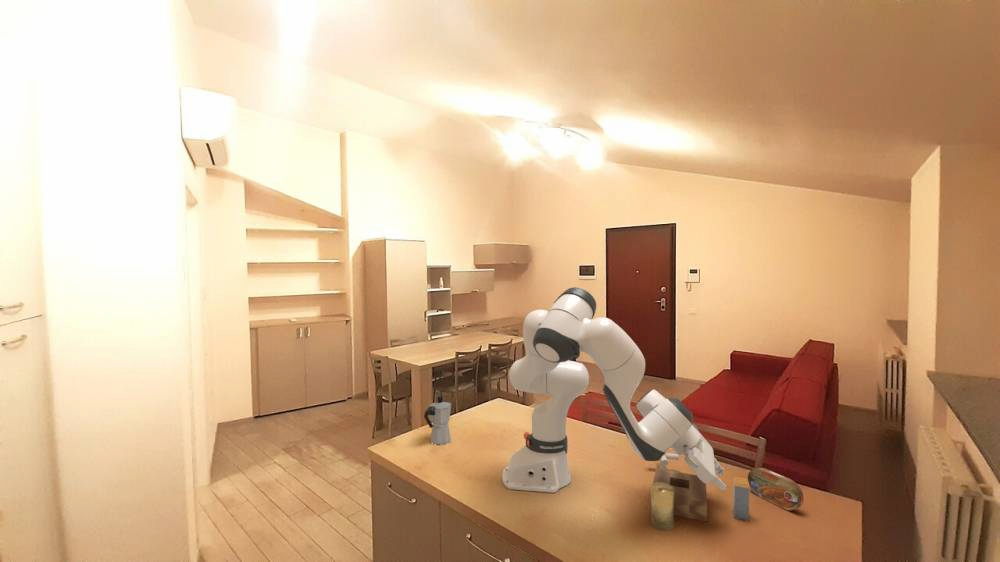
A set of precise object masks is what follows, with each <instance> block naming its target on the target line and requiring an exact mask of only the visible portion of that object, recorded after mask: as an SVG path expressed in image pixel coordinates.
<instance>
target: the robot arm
mask: <svg viewBox="0 0 1000 562" xmlns="http://www.w3.org/2000/svg"><path fill="white" fill-rule="evenodd" d="M596 311H597V301H596V299H595V298H594V296H593V294H591V293H590V292H589V291H587V290H586V289H583V288H580V287H575V286H574V287H570V288H567V289H566V290H564V291H563V292H562V293H561V294H560V295H559V296H558V297H557V299H555V300H554V302H553V304H552V306H551V307H550V308H549V310H546V309H535V310H533V311H531V312H529V313H528V314H526V316H525V318H524V319H523V320H524V321H523V326H522V337H523V338H522V339H523V344H524V349H525V355H524V357H521V358H520V359H518V360H515V361H514V362H513V364H512V365H511V366H510V369H509V374H508V375H509V377H508V378H509V381H510V384H511V386H512V387H513V389H514V390H515V391H516V390H517V391H520V392H524V393H527V394H528V393H529V394H544V395H550V399H548V400H547V401H544V402H542V403H540V404H538V405H537V406H535V407H534V408H533V410H532V413H531V433H530V432H528V431H526V432H525V431H524V433H523V439H524V440H525V445H524V446H522V447H521V448H520V449H519V450H517V451H515V452H514V453H512V455H511V457H510V461H509V465H508V466H505V468H503V470H502V475H501V480H502V484H503V486H505V488H506V489H508V490H518V491H519V490H520V491H529V492H540V493H557V492H558V491H559V490H560V489H561V488H564V487H566V486H568V485H569V484H570V483H571V482H572V477H571V473H570V469H569V463H568V455H567V454H568V449H569V448H568V446H569V445H568V444H569V442H568V436H567V417H568V412H569V409H570V406H571V405H572V403H573V401H574V400H575V399H576V398H577V397H579V396H580V395H582V394H583V393H584V392H585V391H586V389H588V388H587V387H588V386H589V384H590V383H589V382H590V375H589V372H588V368H587V367H586V366H585V364H583V363H582V362H578V361H575V360H577V359H578V358H579V357H580V356H581V352H582V353H584V354H587V356H589V357H590V358H591V359H592V360H593V362H594V363H595V365H596V366H597V367H598V368H599V369H600V370H601V372H602V375H603V380H604V385H603V387H602V391H603V395H604V397H605V399H606V401H607V403H608V405H609V407H610V409H611V411H612V412H613V414H614V417H616V419H617V421H618V423H619V424H620V426H621V428H622V430H623V431H624V433H625V436H626V438H627V440H628V442H629V445H630V447H631V448H632V450H633V451H634V452H635V453H636V454H637V456H638V457H639V458H640V459H642V460H644V461H645V462H660V458H661V457H662V456H663V455H664V454H665V453H667V451H668V450H669V449H672V450H673V451H674V452H675V454H678V455H679V456H681V455H684V461H685V463H686V464H687V466H688V467H689V468H690V470H691V471H692V472H693V473H694V475H697V477H698V478H699V479H700V480H701V481H702V482H703V483H705V484H706V485H708V484H709V483H711V484H713V485H715V486H716V487H717V488H718V489H719V490H720V491H721V492H722V491H724V490H726V489H727V484H726V483H725V482H724V481H723V480H722V479H720V478H719V477H718V475H719V476H722V475H724V474H725V468H723V466H721V464H720V463H719V461H718V460H717V459H716V457H715V455H714V453H715V452H714V448H713V447H712V445H711V444H710V443H709V442H708V441H707V440H706V438H705V437H704V436H703V435H702V434H701V432H700V431H699V428H698V427H697V425H695V424H694V416H693V412H692V411H691V410H689V408H687V406H685V404H684V403H683V402H682V401H681V400H680V399H679V398H678V397H667V398H666V397H665V396H664V395H662V394H661V393H660V392H659V391H657V390H656V389H651V390H649V391H647V392H646V393H645V394H644V395H643V396H642V397H641V398H640V399H639V400H637V402H636V405H635V406H636V408H637V410H638V411H639V413H640V414H641V415H642V417H643V418H642V419H641V420H640V421H638V420H637V418H636V417H635V415H634V413H633V412H632V410H631V401H632V399H633V396H634V394H635V391H636V390H637V388H638V386H639V385H640V383H641V381H642V380H643V377H644V374H645V372H646V358H645V357H644V355H643V353H642V351H641V349H640V348H639V346H638V345H637V343H635V342H634V340H633V339H632V338H631V336H629V334H627V332H626V331H625V330H624V329H623V328H622V327H620V326H619V324H617V323H615V321H613V320H612V319H610V318H608V317H605V316H604V317H603V316H599V317H596V318H594V316H595V314H596ZM593 318H594V319H593ZM716 473H717V474H718V475H717V474H716Z"/></svg>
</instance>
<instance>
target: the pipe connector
mask: <svg viewBox="0 0 1000 562" xmlns="http://www.w3.org/2000/svg"><path fill="white" fill-rule="evenodd" d="M679 456H680V455H678V454H677V453H670V452H668V453H667V452H666V453H665V454H664V455H663V456H662V457H661V458H660V460H659V469H664V470H666V466H668V465H669V461H668V460H674V461H675V460H676V461H678V460H680V457H679Z"/></svg>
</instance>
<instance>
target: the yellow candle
mask: <svg viewBox="0 0 1000 562" xmlns="http://www.w3.org/2000/svg"><path fill="white" fill-rule="evenodd" d="M650 488H651V489H650V491H651V492H650V498H651V499H650V500H651V501H650V502H651V503H650V505H651V506H650V516H651V517H650V518H651V519H650V520H651V521H650V523H651V525H652V527H654V528H655V529H657V530H660V531H671V530H673V529H674V528H675V527H674V526H675V523H674V516H675V515H674V488H673V487H672V486H671V485H669V484H667V483H663V482H655V483H651V487H650Z"/></svg>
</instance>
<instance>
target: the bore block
mask: <svg viewBox="0 0 1000 562" xmlns="http://www.w3.org/2000/svg"><path fill="white" fill-rule="evenodd" d="M652 482H653V483H655V482H663V483H667V484H669V485H671V486H672V487H673V488H674V516H677V517H683V518H686V519H692V520H696V521H701V522H705V521H707V522H708V493H707V484H705V483H703V482H702V481H701V480H700V479H699V478H698V477H697V475H696V474H691V473H687V472H682V471H681V472H680V471H674V470H671V469H670V470H668V469H665V470H664V469H660V468H657V467H656V468H655V471H654V477H653V481H652ZM653 483H652V484H653Z"/></svg>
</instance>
